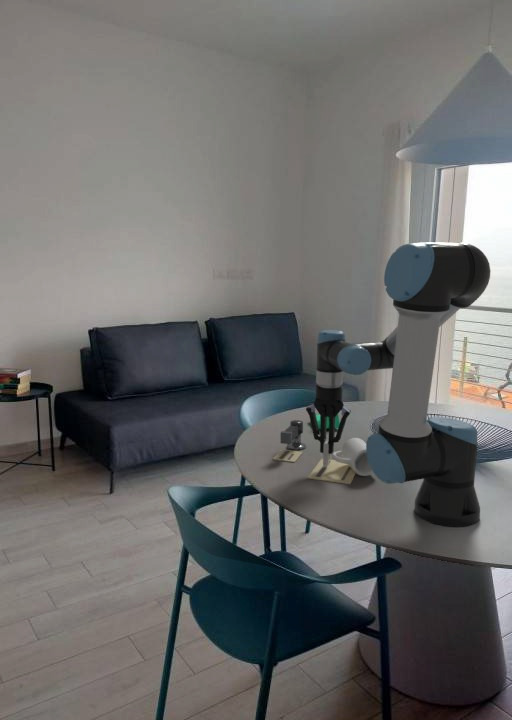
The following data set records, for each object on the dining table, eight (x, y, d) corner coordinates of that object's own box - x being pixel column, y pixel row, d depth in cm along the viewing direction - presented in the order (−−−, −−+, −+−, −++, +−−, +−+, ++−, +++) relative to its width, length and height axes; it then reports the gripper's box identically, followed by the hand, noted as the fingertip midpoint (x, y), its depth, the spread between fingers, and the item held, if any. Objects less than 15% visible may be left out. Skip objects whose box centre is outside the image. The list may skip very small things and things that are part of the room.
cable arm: (292, 430, 191) (292, 419, 190) (304, 431, 189) (304, 421, 189) (279, 443, 178) (279, 432, 178) (291, 444, 177) (291, 433, 176)
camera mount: (309, 422, 217) (310, 395, 215) (329, 420, 218) (330, 394, 216) (318, 431, 205) (318, 403, 203) (339, 430, 207) (340, 402, 205)
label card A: (294, 462, 176) (294, 461, 176) (272, 459, 178) (272, 458, 178) (302, 452, 184) (303, 451, 184) (281, 450, 186) (281, 449, 186)
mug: (365, 462, 175) (367, 437, 173) (378, 475, 165) (380, 449, 164) (327, 464, 172) (328, 438, 171) (338, 477, 163) (339, 450, 161)
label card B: (350, 484, 159) (350, 483, 159) (307, 478, 164) (307, 477, 163) (361, 464, 174) (361, 462, 174) (321, 459, 178) (321, 458, 178)
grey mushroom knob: (302, 451, 185) (302, 437, 185) (284, 448, 188) (284, 435, 187) (307, 445, 191) (308, 431, 190) (290, 443, 193) (290, 429, 192)
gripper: (354, 384, 167) (350, 462, 172) (310, 379, 171) (308, 456, 176) (349, 390, 160) (345, 471, 165) (303, 385, 164) (301, 464, 169)
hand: (326, 463), depth 170 cm, fingers closed
